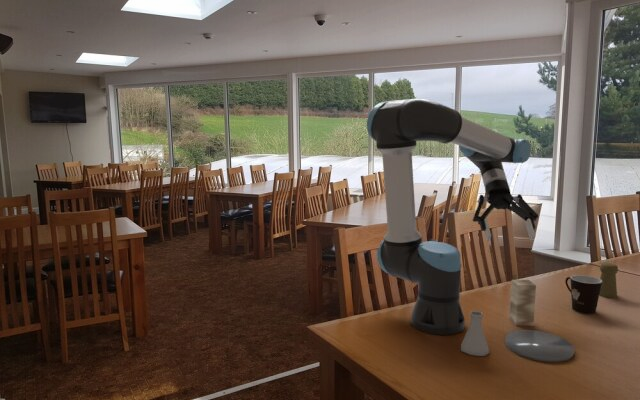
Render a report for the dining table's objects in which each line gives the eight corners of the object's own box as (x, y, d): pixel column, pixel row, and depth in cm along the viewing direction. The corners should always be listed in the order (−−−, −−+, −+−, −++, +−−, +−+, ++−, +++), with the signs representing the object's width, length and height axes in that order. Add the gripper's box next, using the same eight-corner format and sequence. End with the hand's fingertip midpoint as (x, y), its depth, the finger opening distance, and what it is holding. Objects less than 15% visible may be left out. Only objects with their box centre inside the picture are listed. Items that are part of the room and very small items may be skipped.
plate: (528, 364, 111) (528, 359, 111) (493, 336, 126) (494, 332, 126) (588, 359, 113) (589, 354, 113) (547, 332, 129) (548, 328, 128)
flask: (486, 359, 113) (488, 320, 112) (456, 352, 117) (458, 314, 116) (492, 348, 119) (494, 311, 118) (464, 341, 123) (465, 305, 122)
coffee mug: (604, 316, 140) (606, 284, 139) (573, 314, 142) (575, 282, 140) (590, 302, 151) (592, 273, 150) (561, 301, 153) (563, 271, 152)
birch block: (516, 325, 134) (518, 285, 132) (509, 318, 139) (511, 279, 137) (533, 325, 134) (536, 285, 132) (526, 318, 138) (528, 279, 137)
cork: (617, 293, 160) (619, 262, 158) (617, 299, 155) (619, 267, 153) (596, 290, 163) (599, 260, 161) (596, 295, 158) (598, 264, 156)
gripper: (529, 191, 160) (547, 244, 147) (456, 192, 161) (467, 245, 148) (537, 177, 154) (555, 231, 141) (461, 178, 155) (473, 232, 142)
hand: (510, 238), depth 145 cm, fingers open, 13 cm apart
